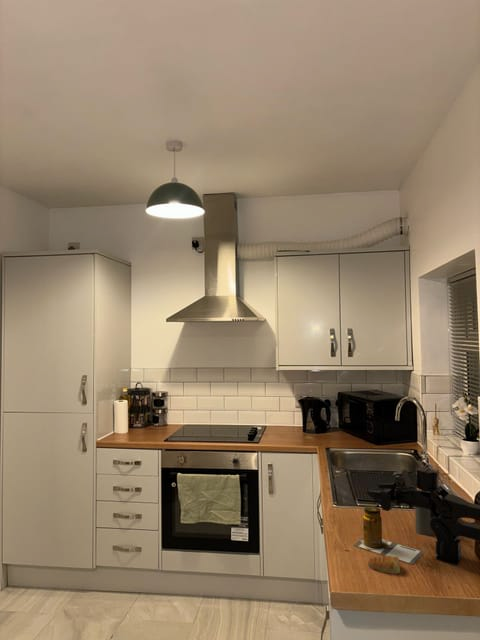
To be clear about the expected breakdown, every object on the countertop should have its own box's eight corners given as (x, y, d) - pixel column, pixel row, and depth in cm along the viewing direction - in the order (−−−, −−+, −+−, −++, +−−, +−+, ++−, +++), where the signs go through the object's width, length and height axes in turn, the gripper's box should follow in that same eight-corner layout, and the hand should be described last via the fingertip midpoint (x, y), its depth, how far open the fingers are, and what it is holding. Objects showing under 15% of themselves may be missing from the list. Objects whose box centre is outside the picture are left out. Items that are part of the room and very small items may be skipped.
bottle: (435, 531, 165) (434, 489, 166) (429, 536, 161) (428, 493, 161) (419, 526, 169) (418, 485, 170) (412, 531, 165) (412, 489, 165)
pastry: (368, 572, 138) (367, 559, 138) (368, 561, 144) (368, 549, 145) (401, 576, 135) (400, 563, 136) (399, 565, 142) (399, 552, 142)
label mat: (424, 552, 150) (424, 551, 150) (412, 565, 141) (412, 564, 141) (367, 534, 163) (367, 534, 163) (352, 545, 154) (352, 545, 154)
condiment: (359, 540, 158) (358, 505, 159) (383, 538, 159) (382, 504, 159) (367, 550, 151) (366, 513, 151) (392, 548, 152) (391, 512, 152)
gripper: (426, 468, 159) (383, 460, 170) (406, 480, 145) (360, 471, 155) (427, 500, 159) (383, 490, 169) (407, 516, 145) (361, 505, 155)
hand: (372, 488), depth 162 cm, fingers open, 9 cm apart
